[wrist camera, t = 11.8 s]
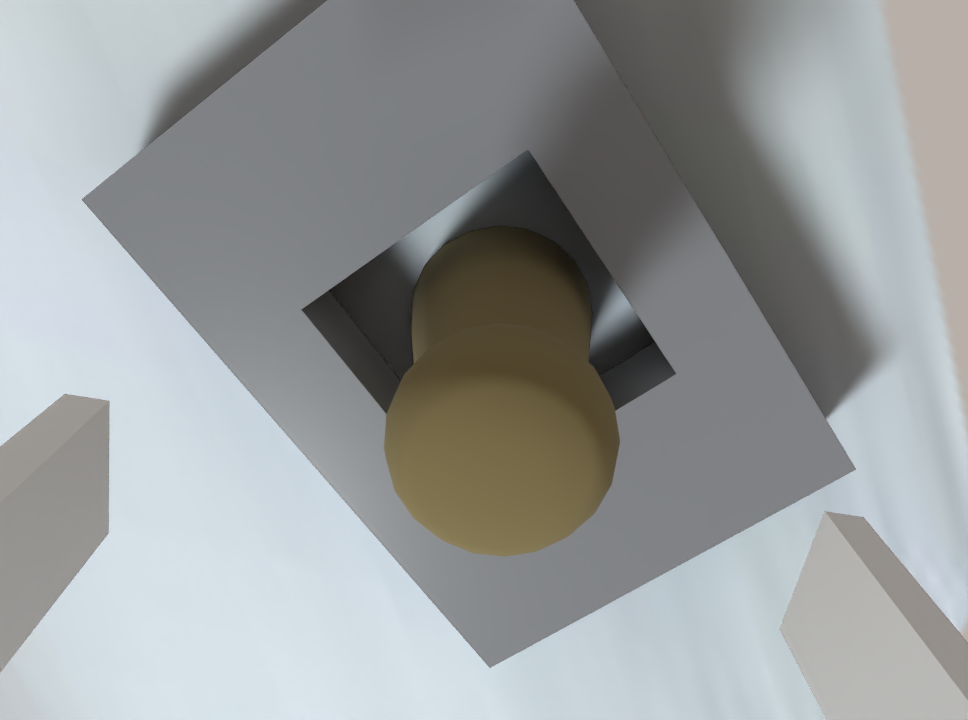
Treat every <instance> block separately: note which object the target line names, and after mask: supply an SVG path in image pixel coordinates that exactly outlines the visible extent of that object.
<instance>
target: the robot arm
mask: <svg viewBox="0 0 968 720" xmlns="http://www.w3.org/2000/svg"><path fill="white" fill-rule="evenodd" d="M108 532H109V401H107V400H101V399H94V398H88V397H81V396H75V395H68V394H64V395H63V396H62V397H61V398H59V399H58V400H57V401H56V402H54V403H53V404H52V405H51V406H50V407H48V408H47V409H46V410H45V411H43V412H42V413H41V414H40V415H39V416H37V417H36V418H35V419H34V420H32V421H31V422H30V423H29V424H28V425H26V426H25V427H24V428H23V429H21V430H20V431H19V432H18V433H16V434H15V435H14V436H13V437H12V438H10V439H9V440H8V441H7V442H5V443H4V444H3V445H2V446H1V447H0V672H1V671H2V670H3V668H4V667H5V666H6V665H7V663H8V662H9V661H10V659H11V658H12V657H13V656H14V654H15V653H16V652H17V650H18V649H19V648H20V646H21V645H22V644H23V643H24V641H25V640H26V639H27V637H28V636H29V635H30V634H31V632H32V631H33V630H34V628H35V627H36V626H37V625H38V623H39V622H40V621H41V619H42V618H43V617H44V616H45V614H46V613H47V612H48V610H49V609H50V608H51V607H52V605H53V604H54V603H55V601H56V600H57V599H58V598H59V596H60V595H61V594H62V592H63V591H64V590H65V589H66V587H67V586H68V585H69V583H70V582H71V581H72V580H73V578H74V577H75V576H76V574H77V573H78V572H79V571H80V569H81V568H82V567H83V565H84V564H85V563H86V562H87V560H88V559H89V558H90V556H91V555H92V554H93V552H94V551H95V550H96V549H97V547H98V546H99V545H100V543H101V542H102V541H103V540H104V538H105V537H106V536H107V534H108ZM779 630H780V631H781V633H782V635H783V637H784V639H785V641H786V643H787V645H788V647H789V649H790V651H791V653H792V654H793V656H794V658H795V660H796V662H797V664H798V666H799V668H800V670H801V672H802V674H803V675H804V677H805V679H806V681H807V683H808V685H809V687H810V689H811V691H812V693H813V695H814V697H815V698H816V700H817V702H818V704H819V706H820V708H821V710H822V712H823V714H824V716H825V718H826V719H827V720H968V642H967V641H966V640H965V639H964V637H963V636H962V635H961V634H960V633H959V631H958V630H957V629H956V628H955V627H954V625H953V624H952V623H951V622H950V620H949V619H948V618H947V617H946V616H945V614H944V613H943V612H942V611H941V610H940V608H939V607H938V606H937V605H936V604H935V602H934V601H933V600H932V599H931V598H930V596H929V595H928V594H927V593H926V592H925V590H924V589H923V588H922V587H921V586H920V584H919V583H918V582H917V581H916V580H915V578H914V577H913V576H912V575H911V574H910V572H909V571H908V570H907V569H906V568H905V566H904V565H903V564H902V563H901V562H900V560H899V559H898V558H897V557H896V556H895V554H894V553H893V552H892V551H891V550H890V548H889V547H888V546H887V545H886V544H885V542H884V541H883V540H882V539H881V538H880V536H879V535H878V534H877V533H876V532H875V530H874V529H873V528H872V527H871V526H870V524H869V523H868V522H867V521H866V519H865V518H864V517H858V516H852V515H845V514H839V513H832V512H826V511H825V512H824V514H823V517H822V519H821V522H820V525H819V527H818V530H817V533H816V535H815V538H814V540H813V543H812V546H811V548H810V551H809V553H808V556H807V559H806V561H805V564H804V566H803V569H802V572H801V574H800V577H799V579H798V582H797V585H796V587H795V590H794V593H793V595H792V598H791V600H790V603H789V606H788V608H787V611H786V613H785V616H784V619H783V621H782V624H781V626H780V629H779Z"/></svg>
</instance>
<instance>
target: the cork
mask: <svg viewBox="0 0 968 720" xmlns="http://www.w3.org/2000/svg"><path fill="white" fill-rule="evenodd" d="M591 322H592V309H591V303H590V297H589V291H588V285H587V283H586V282H585V280H584V278H583V276H582V274H581V272H580V270H579V268H578V267H577V265H576V263H575V261H574V260H573V259H572V258H571V257H570V256H569V255H568V254H567V253H565V252H564V251H563V250H562V249H561V248H560V247H559V246H558V245H557V244H556V243H555V242H554V241H552V240H550V239H547V238H545V237H543V236H541V235H539V234H536V233H534V232H532V231H530V230H528V229H522V228H513V227H505V226H493V227H488V228H483V229H478V230H473V231H468V232H467V233H465V234H463V235H461V236H459V237H458V238H456V239H454V240H452V241H451V242H449V243H447V244H445V245H443V246H442V247H441V249H440V250H439V251H438V252H437V253H436V254H435V255H434V256H433V257H432V258H431V260H430V261H429V262H428V263H427V264H426V265H425V266H424V268H423V270H422V272H421V275H420V277H419V279H418V281H417V284H416V286H415V288H414V291H413V296H412V308H411V333H412V346H413V359H414V364H413V365H412V366H411V367H410V368H409V369H408V371H407V372H406V373H405V374H404V375H403V378H402V380H401V382H400V384H399V386H398V389H397V391H396V393H395V395H394V397H393V400H392V402H391V404H390V407H389V409H388V412H387V415H386V426H385V439H384V452H385V457H386V461H387V464H388V468H389V472H390V475H391V479H392V483H393V486H394V490H395V492H396V494H397V495H398V497H399V498H400V499H401V501H402V502H403V504H404V505H405V507H406V508H407V510H408V511H409V513H410V514H411V516H412V517H413V518H414V519H415V520H416V521H418V522H419V523H420V524H421V525H423V526H424V527H425V528H426V529H428V530H429V531H430V532H432V533H433V534H434V535H435V536H437V537H438V538H439V539H441V540H443V541H444V542H447V543H449V544H452V545H454V546H457V547H459V548H462V549H464V550H467V551H469V552H472V553H475V554H484V555H494V556H503V557H506V556H513V555H519V554H525V553H531V552H537V551H539V550H541V549H543V548H545V547H547V546H550V545H552V544H554V543H556V542H558V541H560V540H562V539H565V538H566V537H568V536H570V535H571V534H572V533H573V532H574V531H575V530H577V529H578V528H579V527H580V526H581V525H582V524H583V523H584V522H586V521H587V520H588V519H589V518H590V517H591V516H592V515H593V514H595V512H596V511H597V509H598V507H599V505H600V504H601V502H602V500H603V499H604V497H605V495H606V493H607V492H608V490H609V488H610V487H611V485H612V480H613V476H614V471H615V466H616V461H617V455H618V450H619V445H620V437H619V431H618V425H617V418H616V412H615V407H614V404H613V402H612V399H611V397H610V395H609V393H608V391H607V390H606V388H605V386H604V384H603V382H602V381H601V379H600V377H599V375H598V373H597V371H596V370H595V368H594V367H593V366H592V365H591V364H590V363H589V351H590V336H591Z"/></svg>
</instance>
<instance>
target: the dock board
mask: <svg viewBox="0 0 968 720" xmlns="http://www.w3.org/2000/svg"><path fill="white" fill-rule="evenodd" d="M527 149H528V150H529V151H530V153H531V154H532V156H533V157H534V159H535V160H536V162H537V163H538V165H539V166H540V168H541V169H542V171H543V172H544V174H545V175H546V177H547V179H548V180H549V182H550V183H551V185H552V186H553V188H554V189H555V191H556V192H557V194H558V195H559V197H560V198H561V200H562V201H563V203H564V204H565V206H566V207H567V209H568V210H569V212H570V213H571V215H572V216H573V218H574V219H575V221H576V222H577V224H578V225H579V227H580V229H581V230H582V232H583V233H584V235H585V236H586V238H587V239H588V241H589V242H590V244H591V245H592V247H593V248H594V250H595V251H596V253H597V254H598V256H599V257H600V259H601V260H602V262H603V263H604V265H605V266H606V268H607V269H608V271H609V272H610V274H611V275H612V277H613V279H614V280H615V282H616V283H617V285H618V286H619V288H620V289H621V291H622V292H623V294H624V295H625V297H626V298H627V300H628V301H629V303H630V304H631V306H632V307H633V309H634V310H635V312H636V313H637V315H638V316H639V318H640V319H641V321H642V322H643V324H644V325H645V327H646V328H647V330H648V332H649V333H650V335H651V336H652V338H653V339H654V341H655V342H654V343H652V344H651V345H649V346H647V347H646V348H644V349H643V350H641V351H639V352H638V353H636V354H634V355H633V356H631V357H630V358H628V359H626V360H625V361H623V362H621V363H620V364H618V365H617V366H615V367H613V368H612V369H610V370H609V371H607V372H605V373H604V374H602V375H600V376H599V377H600V379H601V381H602V382H603V384H604V386H605V388H606V390H607V391H608V393H609V395H610V397H611V399H612V402H613V404H614V407H615V412H616V418H617V425H618V431H619V437H620V445H619V450H618V455H617V461H616V466H615V471H614V476H613V480H612V485H611V487H610V488H609V490H608V492H607V493H606V495H605V497H604V499H603V500H602V502H601V504H600V505H599V507H598V509H597V511H596V512H595V514H593V515H592V516H591V517H590V518H589V519H588V520H587V521H586V522H584V523H583V524H582V525H581V526H580V527H579V528H578V529H577V530H575V531H574V532H573V533H572V534H571V535H570V536H568V537H566V538H565V539H562V540H560V541H558V542H556V543H554V544H552V545H550V546H547V547H545V548H543V549H541V550H539V551H537V552H531V553H525V554H519V555H513V556H506V557H503V556H494V555H484V554H475V553H472V552H469V551H467V550H464V549H462V548H459V547H457V546H454V545H452V544H449V543H447V542H444V541H443V540H441V539H439V538H438V537H437V536H435V535H434V534H433V533H432V532H430V531H429V530H428V529H426V528H425V527H424V526H423V525H421V524H420V523H419V522H418V521H416V520H415V519H414V518H413V517H412V516H411V514H410V513H409V511H408V510H407V508H406V507H405V505H404V504H403V502H402V501H401V499H400V498H399V497H398V495H397V494H396V492H395V490H394V486H393V483H392V479H391V475H390V472H389V468H388V464H387V461H386V457H385V452H384V439H385V426H386V415H387V412H388V409H389V407H390V404H391V402H392V400H393V397H394V395H395V393H396V391H397V389H398V386H399V384H400V382H401V381H400V379H399V378H398V377H397V375H396V374H395V373H394V372H393V370H392V369H391V368H390V367H389V365H388V364H387V363H386V362H385V360H384V359H383V358H382V357H381V355H380V354H379V353H378V352H377V350H376V349H375V348H374V347H373V345H372V344H371V343H370V342H369V340H368V339H367V338H366V336H365V335H364V334H363V333H362V331H361V330H360V329H359V328H358V326H357V325H356V324H355V323H354V321H353V320H352V319H351V318H350V316H349V315H348V314H347V313H346V311H345V310H344V309H343V308H342V306H341V305H340V304H339V302H338V301H337V300H336V299H335V297H334V296H333V295H332V294H331V292H330V291H329V290H330V289H331V288H333V287H334V286H335V285H337V284H338V283H340V282H341V281H342V280H344V279H345V278H347V277H348V276H349V275H351V274H352V273H354V272H355V271H357V270H358V269H359V268H361V267H362V266H364V265H365V264H366V263H368V262H369V261H371V260H372V259H373V258H375V257H376V256H378V255H379V254H381V253H382V252H383V251H385V250H386V249H388V248H389V247H390V246H392V245H393V244H395V243H396V242H398V241H399V240H400V239H402V238H403V237H405V236H406V235H407V234H409V233H410V232H412V231H413V230H414V229H416V228H417V227H419V226H420V225H422V224H423V223H424V222H426V221H427V220H429V219H430V218H431V217H433V216H434V215H436V214H437V213H438V212H440V211H441V210H443V209H444V208H446V207H447V206H448V205H450V204H451V203H453V202H454V201H455V200H457V199H458V198H460V197H461V196H462V195H464V194H465V193H467V192H468V191H470V190H471V189H472V188H474V187H475V186H477V185H478V184H479V183H481V182H482V181H484V180H485V179H487V178H488V177H489V176H491V175H492V174H494V173H495V172H496V171H498V170H499V169H501V168H502V167H503V166H505V165H506V164H508V163H509V162H511V161H512V160H513V159H515V158H516V157H518V156H519V155H520V154H522V153H523V152H525V151H526V150H527ZM82 201H83V202H84V203H85V204H86V205H87V206H88V207H89V209H90V210H91V211H92V212H93V213H94V214H95V215H96V217H97V218H98V219H99V220H100V221H101V222H102V223H103V225H104V226H105V227H106V228H107V229H108V230H109V232H110V233H111V234H112V235H113V236H114V237H115V238H116V240H117V241H118V242H119V243H120V244H121V245H122V246H123V248H124V249H125V250H126V251H127V252H128V253H129V254H130V256H131V257H132V258H133V259H134V260H135V261H136V262H137V264H138V265H139V266H140V267H141V268H142V269H143V271H144V272H145V273H146V274H147V275H148V276H149V277H150V279H151V280H152V281H153V282H154V283H155V284H156V285H157V287H158V288H159V289H160V290H161V291H162V292H163V293H164V295H165V296H166V297H167V298H168V299H169V300H170V301H171V303H172V304H173V305H174V306H175V307H176V308H177V310H178V311H179V312H180V313H181V314H182V315H183V316H184V318H185V319H186V320H187V321H188V322H189V323H190V324H191V326H192V327H193V328H194V329H195V330H196V331H197V332H198V334H199V335H200V336H201V337H202V338H203V339H204V340H205V342H206V343H207V344H208V345H209V346H210V347H211V349H212V350H213V351H214V352H215V353H216V354H217V355H218V357H219V358H220V359H221V360H222V361H223V362H224V363H225V365H226V366H227V367H228V368H229V369H230V370H231V371H232V373H233V374H234V375H235V376H236V377H237V378H238V379H239V381H240V382H241V383H242V384H243V385H244V386H245V388H246V389H247V390H248V391H249V392H250V393H251V394H252V396H253V397H254V398H255V399H256V400H257V401H258V402H259V404H260V405H261V406H262V407H263V408H264V409H265V410H266V412H267V413H268V414H269V415H270V416H271V417H272V418H273V420H274V421H275V422H276V423H277V424H278V425H279V427H280V428H281V429H282V430H283V431H284V432H285V433H286V435H287V436H288V437H289V438H290V439H291V440H292V441H293V443H294V444H295V445H296V446H297V447H298V448H299V449H300V451H301V452H302V453H303V454H304V455H305V456H306V457H307V459H308V460H309V461H310V462H311V463H312V464H313V466H314V467H315V468H316V469H317V470H318V471H319V472H320V474H321V475H322V476H323V477H324V478H325V479H326V480H327V482H328V483H329V484H330V485H331V486H332V487H333V488H334V490H335V491H336V492H337V493H338V494H339V495H340V497H341V498H342V499H343V500H344V501H345V502H346V503H347V505H348V506H349V507H350V508H351V509H352V510H353V511H354V513H355V514H356V515H357V516H358V517H359V518H360V519H361V521H362V522H363V523H364V524H365V525H366V526H367V527H368V529H369V530H370V531H371V532H372V533H373V534H374V536H375V537H376V538H377V539H378V540H379V541H380V542H381V544H382V545H383V546H384V547H385V548H386V549H387V550H388V552H389V553H390V554H391V555H392V556H393V557H394V558H395V560H396V561H397V562H398V563H399V564H400V565H401V566H402V568H403V569H404V570H405V571H406V572H407V573H408V575H409V576H410V577H411V578H412V579H413V580H414V581H415V583H416V584H417V585H418V586H419V587H420V588H421V589H422V591H423V592H424V593H425V594H426V595H427V596H428V597H429V599H430V600H431V601H432V602H433V603H434V604H435V605H436V607H437V608H438V609H439V610H440V611H441V612H442V614H443V615H444V616H445V617H446V618H447V619H448V620H449V622H450V623H451V624H452V625H453V626H454V627H455V628H456V630H457V631H458V632H459V633H460V634H461V635H462V636H463V638H464V639H465V640H466V641H467V642H468V643H469V644H470V646H471V647H472V648H473V649H474V650H475V651H476V653H477V654H478V655H479V656H480V657H481V658H482V659H483V661H484V662H485V663H486V664H487V665H488V666H489V667H490V668H491V667H492V666H494V665H496V664H498V663H500V662H502V661H504V660H505V659H507V658H509V657H511V656H513V655H515V654H516V653H518V652H520V651H522V650H524V649H526V648H527V647H529V646H531V645H533V644H535V643H537V642H539V641H540V640H542V639H544V638H546V637H548V636H550V635H551V634H553V633H555V632H557V631H559V630H561V629H563V628H564V627H566V626H568V625H570V624H572V623H574V622H575V621H577V620H579V619H581V618H583V617H585V616H587V615H588V614H590V613H592V612H594V611H596V610H598V609H599V608H601V607H603V606H605V605H607V604H609V603H610V602H612V601H614V600H616V599H618V598H620V597H622V596H623V595H625V594H627V593H629V592H631V591H633V590H634V589H636V588H638V587H640V586H642V585H644V584H646V583H647V582H649V581H651V580H653V579H655V578H657V577H658V576H660V575H662V574H664V573H666V572H668V571H669V570H671V569H673V568H675V567H677V566H679V565H681V564H682V563H684V562H686V561H688V560H690V559H692V558H693V557H695V556H697V555H699V554H701V553H703V552H705V551H706V550H708V549H710V548H712V547H714V546H716V545H717V544H719V543H721V542H723V541H725V540H727V539H729V538H730V537H732V536H734V535H736V534H738V533H740V532H741V531H743V530H745V529H747V528H749V527H751V526H752V525H754V524H756V523H758V522H760V521H762V520H764V519H765V518H767V517H769V516H771V515H773V514H775V513H776V512H778V511H780V510H782V509H784V508H786V507H788V506H789V505H791V504H793V503H795V502H797V501H799V500H800V499H802V498H804V497H806V496H808V495H810V494H812V493H813V492H815V491H817V490H819V489H821V488H823V487H824V486H826V485H828V484H830V483H832V482H834V481H835V480H837V479H839V478H841V477H843V476H845V475H847V474H848V473H850V472H852V471H854V470H856V468H855V467H854V465H853V463H852V462H851V460H850V458H849V457H848V455H847V453H846V452H845V450H844V448H843V447H842V445H841V443H840V442H839V440H838V438H837V437H836V435H835V433H834V432H833V430H832V428H831V427H830V425H829V423H828V422H827V420H826V419H825V417H824V415H823V414H822V412H821V410H820V409H819V407H818V405H817V404H816V402H815V400H814V399H813V397H812V395H811V394H810V392H809V390H808V389H807V387H806V385H805V384H804V382H803V380H802V379H801V377H800V375H799V374H798V372H797V370H796V369H795V367H794V365H793V364H792V362H791V360H790V359H789V357H788V355H787V354H786V352H785V350H784V349H783V347H782V345H781V344H780V342H779V340H778V339H777V337H776V335H775V334H774V332H773V330H772V329H771V327H770V325H769V324H768V322H767V320H766V319H765V317H764V315H763V314H762V312H761V310H760V309H759V307H758V306H757V304H756V302H755V301H754V299H753V297H752V296H751V294H750V292H749V291H748V289H747V287H746V286H745V284H744V282H743V281H742V279H741V277H740V276H739V274H738V272H737V271H736V269H735V267H734V266H733V264H732V262H731V261H730V259H729V257H728V256H727V254H726V252H725V251H724V249H723V247H722V246H721V244H720V242H719V241H718V239H717V237H716V236H715V234H714V232H713V231H712V229H711V227H710V226H709V224H708V222H707V221H706V219H705V217H704V216H703V214H702V212H701V211H700V209H699V207H698V206H697V204H696V202H695V201H694V199H693V197H692V196H691V194H690V193H689V191H688V189H687V188H686V186H685V184H684V183H683V181H682V179H681V178H680V176H679V174H678V173H677V171H676V169H675V168H674V166H673V164H672V163H671V161H670V159H669V158H668V156H667V154H666V153H665V151H664V149H663V148H662V146H661V144H660V143H659V141H658V139H657V138H656V136H655V134H654V133H653V131H652V129H651V128H650V126H649V124H648V123H647V121H646V119H645V118H644V116H643V114H642V113H641V111H640V109H639V108H638V106H637V104H636V103H635V101H634V99H633V98H632V96H631V94H630V93H629V91H628V89H627V88H626V86H625V84H624V83H623V81H622V80H621V78H620V76H619V75H618V73H617V71H616V70H615V68H614V66H613V65H612V63H611V61H610V60H609V58H608V56H607V55H606V53H605V51H604V50H603V48H602V46H601V45H600V43H599V41H598V40H597V38H596V36H595V35H594V33H593V31H592V30H591V28H590V26H589V25H588V23H587V21H586V20H585V18H584V16H583V15H582V13H581V11H580V10H579V8H578V6H577V5H576V3H575V1H574V0H327V1H326V2H324V3H323V4H322V5H321V6H319V7H318V8H317V9H316V10H314V11H313V12H312V13H311V14H310V15H308V16H307V17H306V18H305V19H303V20H302V21H301V22H300V23H298V24H297V25H296V26H295V27H293V28H292V29H291V30H290V31H289V32H287V33H286V34H285V35H284V36H282V37H281V38H280V39H279V40H277V41H276V42H275V43H274V44H273V45H271V46H270V47H269V48H268V49H266V50H265V51H264V52H263V53H261V54H260V55H259V56H258V57H257V58H255V59H254V60H253V61H252V62H250V63H249V64H248V65H247V66H245V67H244V68H243V69H242V70H241V71H239V72H238V73H237V74H236V75H234V76H233V77H232V78H231V79H229V80H228V81H227V82H226V83H224V84H223V85H222V86H221V87H220V88H218V89H217V90H216V91H215V92H213V93H212V94H211V95H210V96H208V97H207V98H206V99H205V100H204V101H202V102H201V103H200V104H199V105H197V106H196V107H195V108H194V109H192V110H191V111H190V112H189V113H188V114H186V115H185V116H184V117H183V118H181V119H180V120H179V121H178V122H176V123H175V124H174V125H173V126H171V127H170V128H169V129H168V130H167V131H165V132H164V133H163V134H162V135H160V136H159V137H158V138H157V139H155V140H154V141H153V142H152V143H151V144H149V145H148V146H147V147H146V148H144V149H143V150H142V151H141V152H139V153H138V154H137V155H136V156H135V157H133V158H132V159H131V160H130V161H128V162H127V163H126V164H125V165H123V166H122V167H121V168H120V169H118V170H117V171H116V172H115V173H114V174H112V175H111V176H110V177H109V178H107V179H106V180H105V181H104V182H102V183H101V184H100V185H99V186H98V187H96V188H95V189H94V190H93V191H91V192H90V193H89V194H88V195H86V196H85V197H84V198H83V199H82Z"/></svg>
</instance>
